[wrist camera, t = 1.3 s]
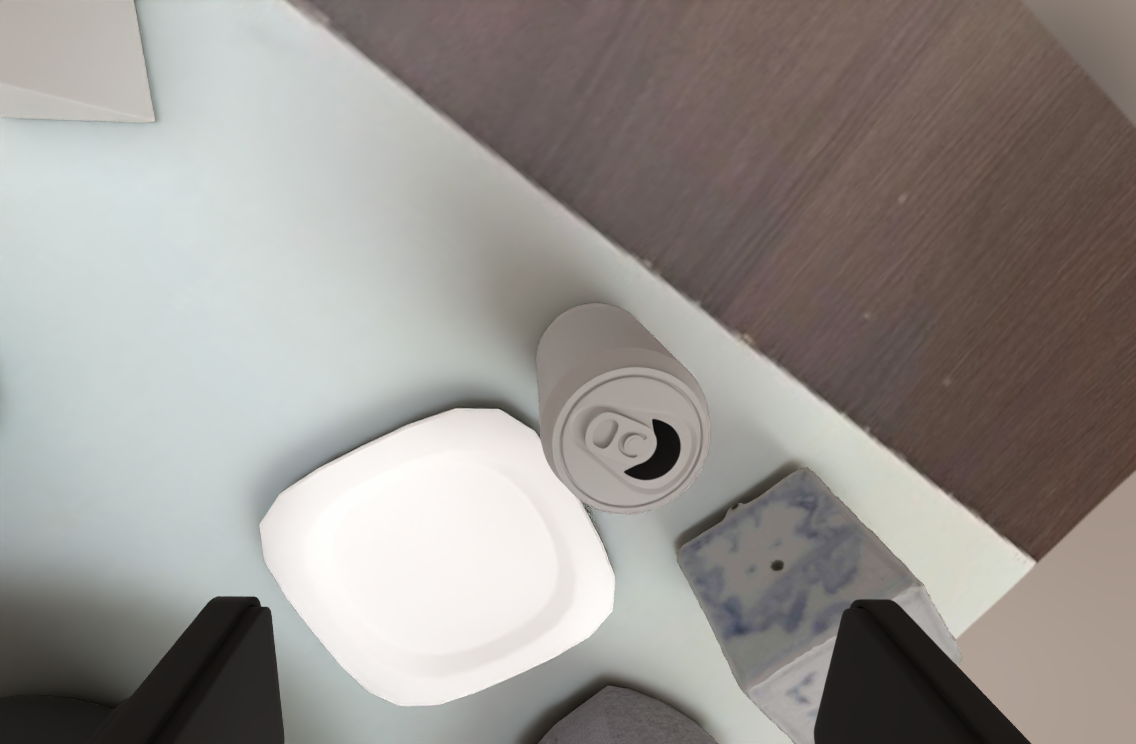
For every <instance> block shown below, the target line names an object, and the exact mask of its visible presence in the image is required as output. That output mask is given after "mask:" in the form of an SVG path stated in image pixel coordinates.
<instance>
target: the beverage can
mask: <svg viewBox="0 0 1136 744" xmlns="http://www.w3.org/2000/svg"><path fill="white" fill-rule="evenodd" d="M536 366H537V383H538V401H539V418H540V435H541V444H542V448H543V452H544V455H545V458H546V460H547V462H548V465H549V466H550V468H551V470H552V471H553V473H554V474H555V476H556V477H557V478H558V479H559V480H560V481H561V482H562V483H563V484H564V485H565V486H566V487H567V488H568V489H569V491H570V492H571V493H572V494H573V495H574V496H576V497H577V498H578V499H579V500H581V501H582V502H584V503H585V504H587V505H589V506H591V507H593V508H595V509H598V510H601V511H604V512H608V513H614V514H638V513H644V512H648V511H651V510H654V509H657V508H660V507H662V506H664V505H666V504H667V503H669V502H671V501H672V500H674V499H675V498H677V497H678V496H680V495H681V494H682V493H684V492H685V491H686V490H687V489H688V488H689V487H690V485H691V484H692V483H693V482H694V481H695V479H696V478H697V476H698V475H699V473H700V472H701V470H702V468H703V466H704V463H705V461H706V458H707V455H708V451H709V445H710V427H709V413H708V406H707V402H706V399H705V396H704V394H703V392H702V389H701V388H700V386H699V384H698V382H697V381H696V379H695V378H694V377H693V376H692V374H691V373H690V372H689V371H688V370H687V369H686V368H685V367H684V366H683V365H682V364H681V363H680V362H679V361H678V360H677V359H676V358H675V357H674V356H673V355H672V354H671V353H670V352H669V351H668V350H667V349H666V348H665V347H664V346H663V345H662V344H661V343H660V342H659V341H658V340H657V339H656V338H655V337H654V336H653V335H652V334H651V333H650V332H649V331H648V330H647V329H646V328H645V327H644V326H643V325H642V324H641V323H640V322H639V321H638V320H636V319H635V318H634V317H633V316H632V315H631V314H629V313H628V312H626V311H625V310H623V309H621V308H618V307H616V306H612V305H608V304H602V303H589V304H583V305H579V306H576V307H574V308H571V309H569V310H567V311H565V312H564V313H562V314H561V315H559V316H558V317H557V318H556V319H555V320H554V321H553V322H552V323H551V324H550V325H549V326H548V327H547V329H546V330H545V332H544V334H543V336H542V338H541V340H540V343H539V346H538V350H537V356H536Z"/></svg>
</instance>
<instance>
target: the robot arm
mask: <svg viewBox="0 0 1136 744" xmlns="http://www.w3.org/2000/svg"><path fill="white" fill-rule="evenodd" d="M814 741H815V744H1031V743H1030V742H1029V741H1028V740H1027V739H1026V738H1025V737H1024V736H1023V734H1022V733H1021V732H1020V731H1019V730H1018V729H1017V728H1016V727H1015V726H1014V725H1013V724H1012V723H1011V722H1010V721H1009V720H1008V719H1007V718H1006V717H1005V716H1004V715H1003V714H1002V712H1001V711H1000V710H999V709H998V708H997V707H996V706H995V705H994V704H993V703H992V702H991V701H990V700H989V699H988V698H987V697H986V696H985V695H984V694H983V693H982V691H980V689H979V688H978V687H977V686H976V685H975V684H974V683H973V682H972V681H971V680H970V679H969V678H968V677H967V676H966V675H965V674H964V673H963V672H962V670H961V669H960V668H959V667H958V666H957V665H956V664H955V663H954V662H953V661H952V660H951V659H950V658H949V657H948V656H947V655H946V654H945V653H944V652H943V651H942V649H941V648H940V647H939V646H938V645H937V644H936V643H935V642H934V641H933V640H932V639H931V638H930V637H929V636H928V635H927V634H926V633H925V632H924V631H923V630H922V628H921V627H920V626H919V625H918V624H917V623H916V622H915V621H914V620H913V619H912V618H911V617H910V616H909V615H908V614H907V613H906V612H905V611H904V610H903V609H902V607H901V606H900V605H898V604H897V603H896V602H895V601H892V600H889V599H858V600H855V601H854V602H853V603H852V604H851V606H850V608H848V609H845V610H844V611H843V614H842V617H841V621H840V625H839V629H838V633H837V637H836V641H835V645H834V649H833V653H832V657H831V661H830V666H829V670H828V674H827V678H826V682H825V686H824V690H823V694H822V698H821V702H820V706H819V710H818V714H817V718H816V722H815V726H814ZM85 744H284V729H283V720H282V710H281V701H280V692H279V682H278V673H277V663H276V654H275V644H274V635H273V625H272V616H271V611H270V609H269V607H261V605H260V601H259V600H258V598H257V597H215V598H213V599H212V600H211V601H210V602H208V603H207V605H206V606H205V607H204V608H203V610H202V611H201V612H200V613H199V614H198V616H197V617H196V618H195V619H194V621H193V622H192V623H191V624H190V625H189V627H188V628H187V629H186V630H185V632H184V633H183V634H182V635H181V636H180V638H179V639H178V640H177V641H176V642H175V644H174V645H173V646H172V647H171V649H170V650H169V651H168V652H167V653H166V655H165V656H164V657H163V658H162V660H161V661H160V662H159V663H158V664H157V666H156V667H155V668H154V669H153V671H152V672H151V673H150V674H149V675H148V677H147V678H146V679H145V680H144V682H143V683H142V684H141V685H140V686H139V688H138V689H137V690H136V691H135V693H134V694H133V695H132V696H130V697H128V698H127V699H125V700H123V701H122V702H121V703H120V704H119V705H118V706H117V707H116V708H115V709H114V710H113V711H112V712H111V713H110V714H109V715H108V716H107V718H106V719H105V720H104V721H103V722H102V724H101V725H100V726H99V727H98V728H97V730H96V731H95V732H94V733H93V734H92V736H91V737H90V738H89V739H88V740H87V741H86V743H85Z"/></svg>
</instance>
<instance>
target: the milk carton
mask: <svg viewBox="0 0 1136 744" xmlns="http://www.w3.org/2000/svg"><path fill="white" fill-rule="evenodd" d="M0 117H3V118H27V119H55V120H84V121H112V122H142V123H150V122H154V121H155V117H154V111H153V105H152V100H151V94H150V88H149V83H148V77H147V72H146V66H145V60H144V55H143V49H142V44H141V38H140V32H139V27H138V21H137V16H136V10H135V5H134V0H0Z"/></svg>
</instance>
